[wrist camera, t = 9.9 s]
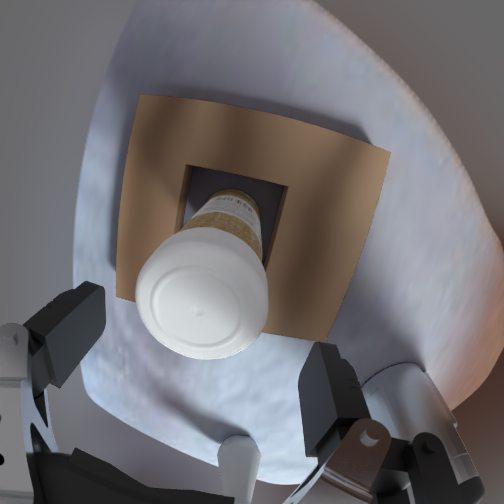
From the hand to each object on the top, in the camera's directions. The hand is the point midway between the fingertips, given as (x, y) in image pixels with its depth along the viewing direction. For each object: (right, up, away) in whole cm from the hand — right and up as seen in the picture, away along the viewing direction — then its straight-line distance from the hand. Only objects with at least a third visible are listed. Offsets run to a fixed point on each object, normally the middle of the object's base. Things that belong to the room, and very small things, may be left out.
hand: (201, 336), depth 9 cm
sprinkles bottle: (0, +6, +12) cm, 13 cm away
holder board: (+1, +6, +12) cm, 13 cm away
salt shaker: (0, -23, +22) cm, 32 cm away
